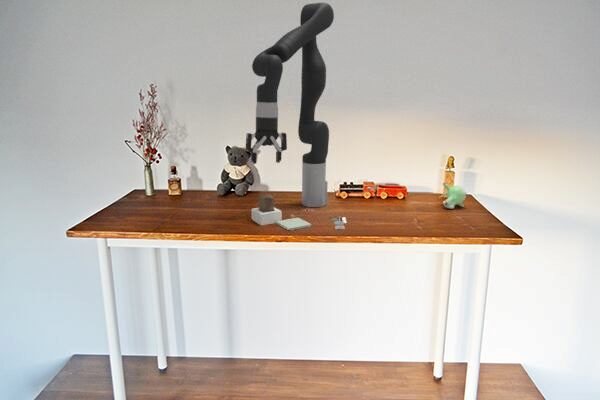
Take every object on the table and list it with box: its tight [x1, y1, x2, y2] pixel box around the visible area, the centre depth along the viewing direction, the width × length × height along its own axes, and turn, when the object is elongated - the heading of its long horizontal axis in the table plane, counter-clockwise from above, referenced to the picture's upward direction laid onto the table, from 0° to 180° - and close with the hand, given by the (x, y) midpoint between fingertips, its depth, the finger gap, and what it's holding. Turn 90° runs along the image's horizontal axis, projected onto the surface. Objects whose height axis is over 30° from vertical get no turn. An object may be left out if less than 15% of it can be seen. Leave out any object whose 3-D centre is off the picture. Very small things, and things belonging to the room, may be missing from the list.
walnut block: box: [258, 194, 275, 213], centre depth 169 cm, size 4×4×9 cm
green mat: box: [275, 217, 312, 231], centre depth 165 cm, size 9×9×1 cm
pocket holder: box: [250, 206, 283, 226], centre depth 169 cm, size 8×8×4 cm
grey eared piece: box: [330, 215, 348, 230], centre depth 167 cm, size 15×7×4 cm, turn 179°
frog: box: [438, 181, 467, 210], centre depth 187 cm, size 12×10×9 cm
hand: (266, 162), depth 166 cm, fingers open, 8 cm apart
